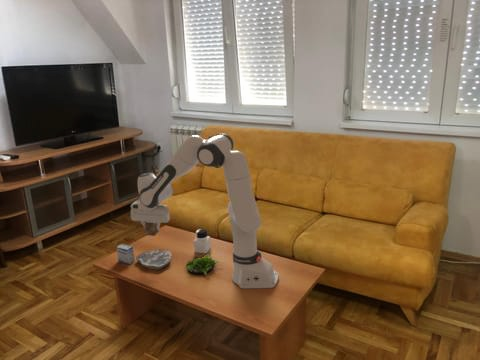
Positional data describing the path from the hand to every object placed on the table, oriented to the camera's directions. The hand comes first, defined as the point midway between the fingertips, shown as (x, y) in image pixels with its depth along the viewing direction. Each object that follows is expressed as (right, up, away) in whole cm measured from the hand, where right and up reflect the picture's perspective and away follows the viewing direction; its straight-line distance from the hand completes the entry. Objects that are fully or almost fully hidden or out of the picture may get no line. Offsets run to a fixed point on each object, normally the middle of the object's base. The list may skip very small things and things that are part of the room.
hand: (151, 228), depth 214 cm
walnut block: (0, -2, +1) cm, 3 cm away
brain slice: (+1, -19, +6) cm, 20 cm away
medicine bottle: (+25, -14, +16) cm, 33 cm away
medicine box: (-15, -19, +8) cm, 25 cm away
